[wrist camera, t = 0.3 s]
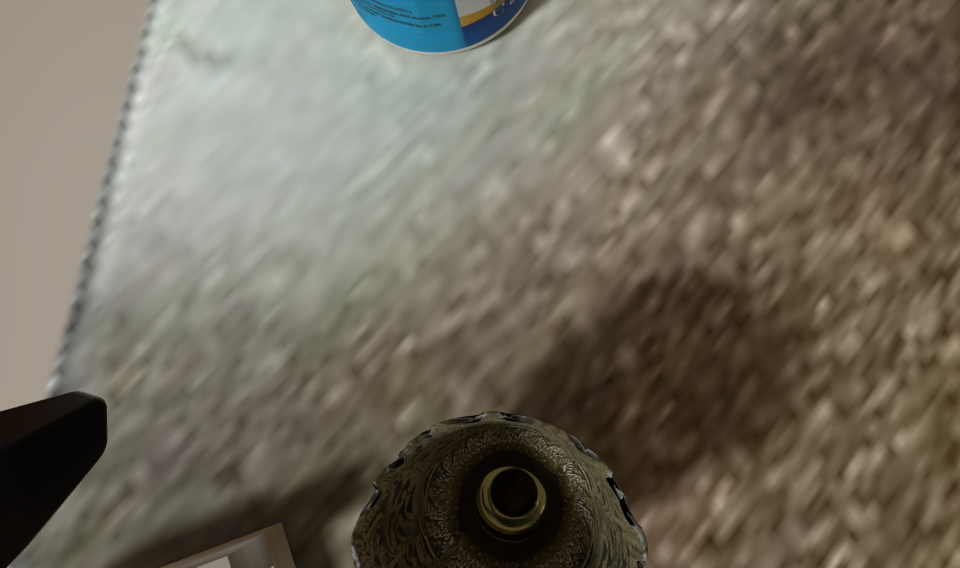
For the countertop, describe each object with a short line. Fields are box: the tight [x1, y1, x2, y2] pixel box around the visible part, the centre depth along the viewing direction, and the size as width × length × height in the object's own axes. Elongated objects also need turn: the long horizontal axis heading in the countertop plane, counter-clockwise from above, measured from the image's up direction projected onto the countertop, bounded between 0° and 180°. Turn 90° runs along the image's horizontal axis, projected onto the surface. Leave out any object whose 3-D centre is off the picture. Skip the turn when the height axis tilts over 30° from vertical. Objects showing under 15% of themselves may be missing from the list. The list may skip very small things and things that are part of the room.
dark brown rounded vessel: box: [351, 411, 648, 568], centre depth 19 cm, size 8×7×8 cm
